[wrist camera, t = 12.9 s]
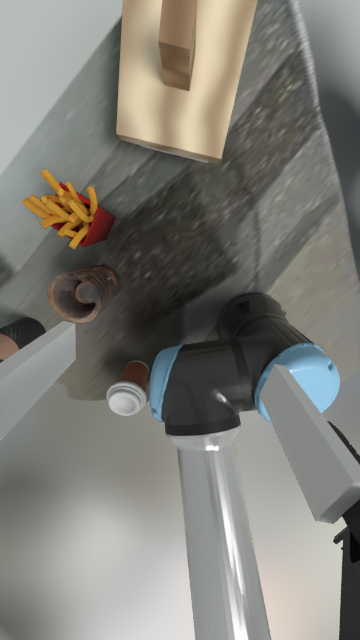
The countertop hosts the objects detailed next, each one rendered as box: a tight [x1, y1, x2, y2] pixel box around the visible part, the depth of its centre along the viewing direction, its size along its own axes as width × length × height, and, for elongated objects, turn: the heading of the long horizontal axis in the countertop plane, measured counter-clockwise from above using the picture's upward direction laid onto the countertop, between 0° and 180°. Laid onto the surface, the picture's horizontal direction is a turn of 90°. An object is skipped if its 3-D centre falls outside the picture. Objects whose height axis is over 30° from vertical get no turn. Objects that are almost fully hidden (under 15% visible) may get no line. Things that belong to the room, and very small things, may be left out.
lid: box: [116, 0, 257, 164], centre depth 22 cm, size 15×15×8 cm
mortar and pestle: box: [47, 266, 121, 323], centre depth 33 cm, size 12×9×20 cm
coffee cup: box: [106, 360, 149, 416], centre depth 47 cm, size 9×9×12 cm
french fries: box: [22, 169, 116, 250], centre depth 31 cm, size 9×8×15 cm
